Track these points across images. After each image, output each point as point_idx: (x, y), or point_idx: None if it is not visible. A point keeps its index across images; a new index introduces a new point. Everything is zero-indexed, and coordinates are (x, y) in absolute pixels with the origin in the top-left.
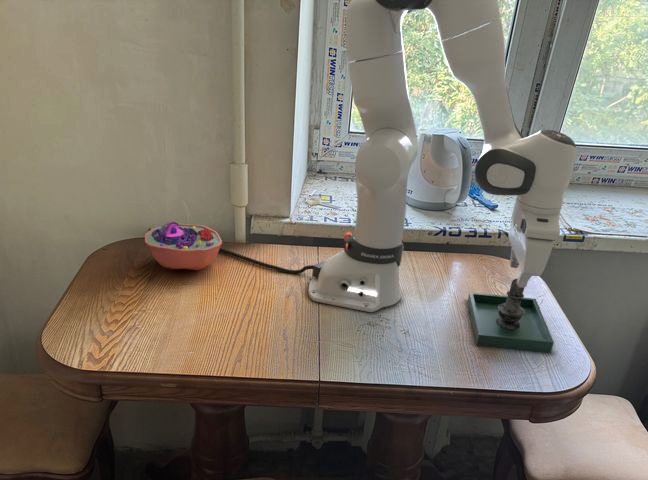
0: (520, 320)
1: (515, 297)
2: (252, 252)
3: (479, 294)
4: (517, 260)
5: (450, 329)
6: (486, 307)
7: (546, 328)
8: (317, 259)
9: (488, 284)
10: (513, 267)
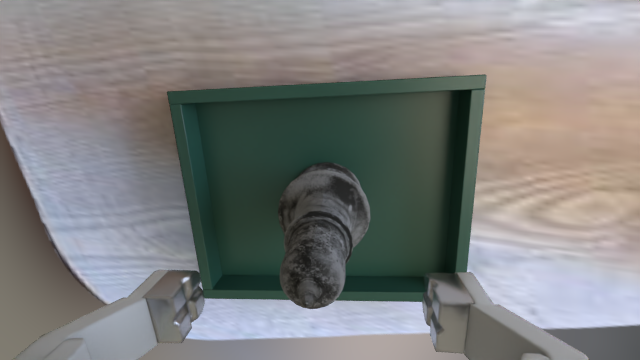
0: None
1: (287, 240)
2: None
3: (470, 115)
4: (441, 337)
5: (255, 7)
6: (420, 141)
7: (275, 295)
8: None
9: (621, 167)
10: (426, 286)
